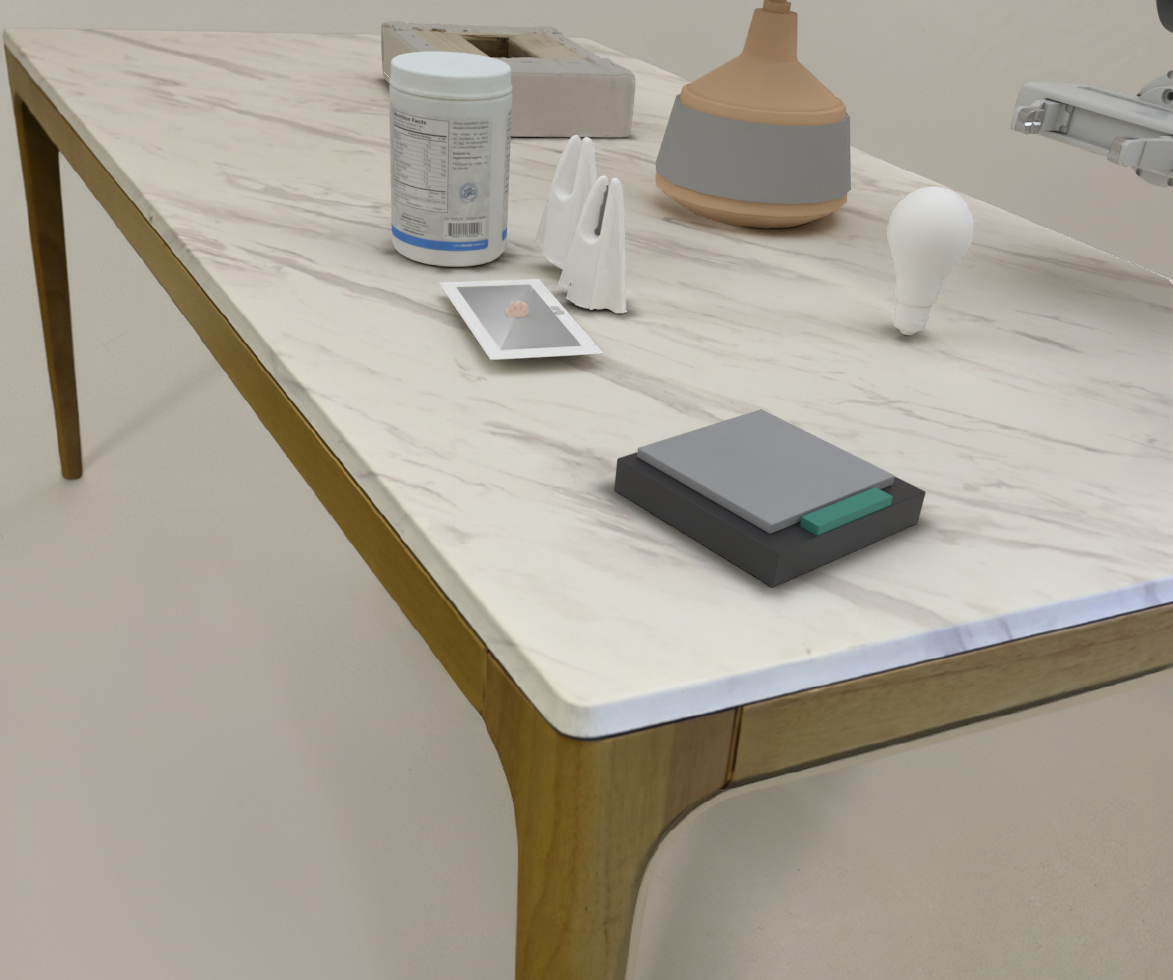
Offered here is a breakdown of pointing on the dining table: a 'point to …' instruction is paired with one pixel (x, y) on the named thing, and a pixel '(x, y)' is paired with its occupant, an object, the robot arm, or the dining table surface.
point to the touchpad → (518, 319)
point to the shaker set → (585, 230)
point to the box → (533, 75)
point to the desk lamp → (758, 135)
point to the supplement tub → (449, 157)
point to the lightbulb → (925, 250)
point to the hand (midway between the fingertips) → (1066, 135)
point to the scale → (767, 494)
